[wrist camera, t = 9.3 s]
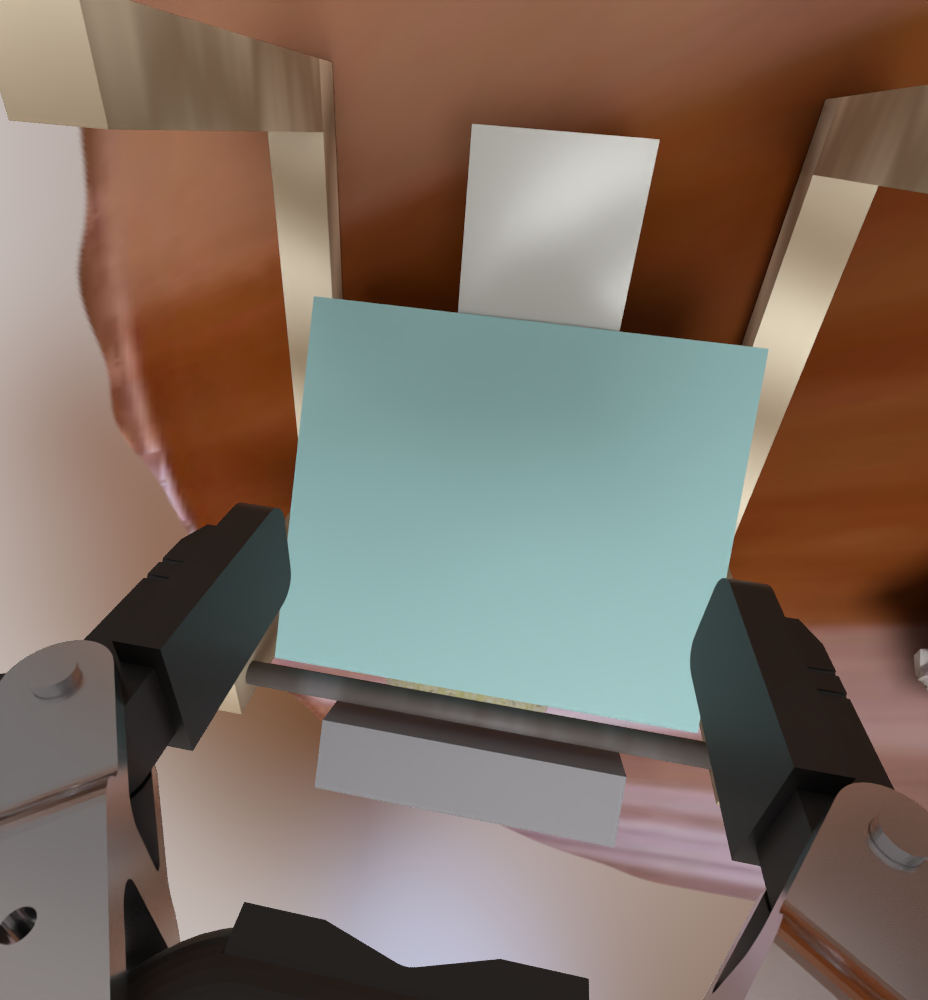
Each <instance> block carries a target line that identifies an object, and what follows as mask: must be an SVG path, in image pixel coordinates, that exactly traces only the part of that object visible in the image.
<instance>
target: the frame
mask: <svg viewBox="0 0 928 1000" xmlns="http://www.w3.org/2000/svg"><path fill="white" fill-rule="evenodd" d="M0 92H1V95H2V99H3V102H4V105H5V109H6V112H7V115H8V118H9V120H10V121H22V122H33V123H44V124H55V125H66V126H77V127H88V128H99V129H121V130H195V131H268V140H269V151H270V161H271V171H272V181H273V191H274V201H275V211H276V221H277V231H278V241H279V251H280V261H281V271H282V281H283V292H284V302H285V312H286V322H287V332H288V342H289V352H290V362H291V372H292V382H293V392H294V402H295V412H296V423H297V433H298V438H299V429H300V419H301V410H302V401H303V392H304V382H305V373H306V364H307V355H308V345H309V336H310V327H311V318H312V308H313V299H314V296H316V297H325V298H334V299H342V300H343V293H342V271H341V248H340V226H339V203H338V181H337V159H336V136H335V114H334V92H333V69H332V62H329V61H326V60H323V59H320V58H316V57H313V56H310V55H306V54H303V53H300V52H297V51H293V50H290V49H287V48H284V47H280V46H277V45H274V44H270V43H267V42H264V41H261V40H257V39H254V38H251V37H247V36H244V35H241V34H238V33H234V32H231V31H228V30H225V29H221V28H218V27H215V26H211V25H208V24H205V23H202V22H198V21H195V20H192V19H189V18H185V17H182V16H179V15H175V14H172V13H169V12H166V11H162V10H159V9H156V8H152V7H149V6H146V5H143V4H139V3H136V2H133V1H130V0H0ZM878 186H884V187H890V188H896V189H902V190H908V191H914V192H921V193H927V194H928V85H923V86H916V87H909V88H902V89H895V90H888V91H881V92H874V93H867V94H860V95H853V96H846V97H839V98H832V99H826V100H825V103H824V106H823V108H822V111H821V114H820V117H819V120H818V123H817V126H816V129H815V132H814V135H813V138H812V141H811V144H810V146H809V149H808V152H807V155H806V158H805V161H804V164H803V167H802V170H801V173H800V176H799V179H798V182H797V185H796V187H795V190H794V193H793V196H792V199H791V202H790V205H789V208H788V211H787V214H786V217H785V220H784V223H783V225H782V228H781V231H780V234H779V237H778V240H777V243H776V246H775V249H774V252H773V255H772V258H771V261H770V263H769V266H768V269H767V272H766V275H765V278H764V281H763V284H762V287H761V290H760V293H759V296H758V299H757V301H756V304H755V307H754V310H753V313H752V316H751V319H750V322H749V325H748V328H747V331H746V334H745V337H744V339H743V342H742V345H741V346H749V347H757V348H766V349H769V350H768V356H767V361H766V366H765V372H764V377H763V383H762V388H761V393H760V399H759V404H758V410H757V415H756V421H755V426H754V431H753V437H752V442H751V448H750V453H749V458H748V464H747V469H746V475H745V480H744V485H743V491H742V496H741V502H740V507H739V512H738V518H737V523H736V529H735V533H736V530H737V528H738V526H739V523H740V521H741V518H742V516H743V513H744V511H745V509H746V506H747V504H748V501H749V499H750V496H751V494H752V492H753V489H754V487H755V484H756V482H757V479H758V477H759V475H760V472H761V470H762V467H763V465H764V462H765V460H766V458H767V455H768V453H769V450H770V448H771V445H772V443H773V441H774V438H775V436H776V433H777V431H778V428H779V426H780V424H781V421H782V419H783V416H784V414H785V411H786V409H787V407H788V404H789V402H790V399H791V397H792V394H793V392H794V389H795V387H796V385H797V382H798V380H799V377H800V375H801V372H802V370H803V368H804V365H805V363H806V360H807V358H808V355H809V353H810V351H811V348H812V346H813V343H814V341H815V338H816V336H817V334H818V331H819V329H820V326H821V324H822V321H823V319H824V317H825V314H826V312H827V309H828V307H829V304H830V302H831V300H832V297H833V295H834V292H835V290H836V287H837V285H838V283H839V280H840V278H841V275H842V273H843V270H844V268H845V265H846V263H847V261H848V258H849V256H850V253H851V251H852V248H853V246H854V244H855V241H856V239H857V236H858V234H859V231H860V229H861V227H862V224H863V222H864V219H865V217H866V214H867V212H868V210H869V207H870V205H871V202H872V200H873V197H874V195H875V193H876V190H877V188H878ZM290 512H291V511H290ZM289 521H290V513H289V514H288V515H287V517H286V518H285V526H286V534H287V540H288V530H289ZM734 535H735V534H734ZM726 578H728V579H733V577H732V574H731V571H730V568H729V566H728V572H727V577H726ZM279 614H280V610H279V612H278V613H277V615H276V617H275V618H274V620H273V622H272V623H271V625H270V626H269V628H268V630H267V631H266V633H265V635H264V636H263V638H262V639H261V641H260V643H259V644H258V646H257V647H256V649H255V651H254V652H253V654H252V656H251V657H250V659H249V660H248V662H247V664H246V665H245V667H244V669H243V670H242V672H241V673H240V675H239V677H238V678H237V680H236V682H235V683H234V685H233V686H232V688H231V690H230V691H229V693H228V694H227V696H226V698H225V699H224V701H223V703H222V704H221V706H220V707H219V709H218V710H222V711H227V712H232V713H238V714H242V712H243V710H244V709H245V707H246V705H247V704H248V702H249V700H250V698H251V697H252V695H253V693H254V691H255V690H256V688H257V686H261V687H267V688H272V689H277V690H283V691H288V692H294V693H299V694H304V695H310V696H315V697H321V698H326V699H332V700H337V701H342V702H348V703H353V704H359V705H364V706H369V707H375V708H380V709H386V710H391V711H397V712H402V713H407V714H413V715H418V716H424V717H429V718H434V719H440V720H445V721H451V722H456V723H462V724H467V725H472V726H478V727H483V728H489V729H494V730H499V731H505V732H510V733H516V734H521V735H527V736H532V737H537V738H543V739H548V740H554V741H559V742H564V743H570V744H575V745H581V746H586V747H592V748H597V749H602V750H608V751H613V752H619V753H624V754H629V755H635V756H640V757H646V758H651V759H657V760H662V761H667V762H673V763H678V764H684V765H689V766H694V767H700V768H705V769H709V772H710V776H711V781H712V786H713V790H714V795H715V799H716V804H717V805H720V804H719V799H718V795H717V790H716V785H715V781H714V776H713V772H712V767H711V763H710V758H709V754H708V749H707V745H706V740H705V736H704V731H703V726H702V722H701V718H700V723H699V725H700V730H701V735H702V739H703V741H698V740H692V739H687V738H681V737H676V736H670V735H664V734H659V733H653V732H648V731H642V730H637V729H631V728H626V727H620V726H614V725H609V724H603V723H598V722H592V721H587V720H581V719H576V718H570V717H565V716H559V715H553V714H548V713H542V712H537V711H531V710H526V709H520V708H515V707H509V706H504V705H498V704H492V703H487V702H481V701H476V700H470V699H465V698H459V697H454V696H448V695H443V694H437V693H431V692H426V691H420V690H415V689H409V688H404V687H398V686H393V685H387V684H382V683H376V682H370V681H365V680H359V679H354V678H348V677H343V676H337V675H332V674H326V673H321V672H315V671H309V670H304V669H298V668H293V667H287V666H282V665H276V664H271V662H272V660H273V658H274V656H275V651H276V641H277V632H278V623H279Z"/></svg>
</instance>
